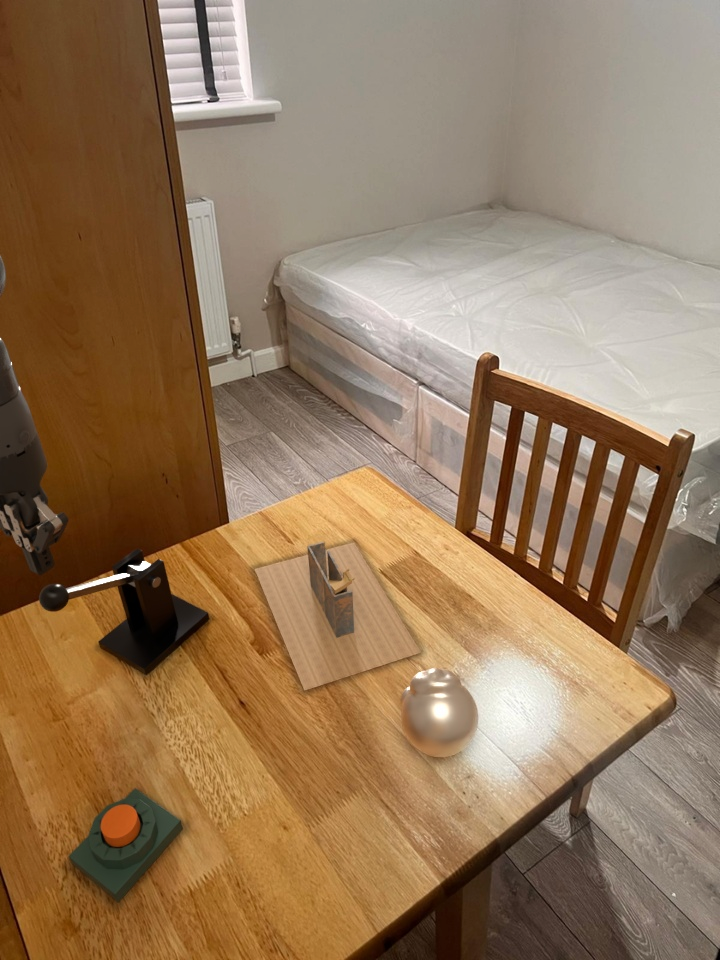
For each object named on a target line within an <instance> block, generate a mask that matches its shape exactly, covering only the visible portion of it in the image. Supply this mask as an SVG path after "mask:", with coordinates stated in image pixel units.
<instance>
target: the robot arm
mask: <svg viewBox="0 0 720 960" xmlns="http://www.w3.org/2000/svg"><path fill="white" fill-rule="evenodd" d="M5 267H6V266H5V263H4V259H3V258H2V255H1V254H0V298H1V297H2V295H3V293H4V291H5V287H6V282H7V273H6V272H7V271H6V268H5ZM38 433H39V432H38V430H37V428H36V424H35V420H34V417H33V415H32V412H31V408H30V407H29V404H28V402H27V400H26V398H25V396H24V394H23V392H22V390H21V387H20V384H19V381H18V378H17V375H16V372H15V369H14V366H13V363H12V359H11V357H10V353H9V350H8V348H7V345H6V344H5V342H4V340H3V339H2V337H0V530H2V532H3V534H4V535H5V536H7V537H11V536H12V537H13V540H14V542H15V544H16V545H17V546H19V547H20V548H21V550H22V553H23V554H24V558H25V560H26V563H27V565H28V568H29V570H30V571H32V572H33V573H34V574H37V575H38V576H43V575H44V574H46V573H47V572H49V571H50V570H52V569H53V568H54V567H55V566H56V565H55V564H56V563H55V562H56V561H55V560H54V557H53V554H52V552H51V548H50V547H51V546H52V545H54V544H57V543H58V542H60V540H61V538H62V536H63V534H64V532H65V530H66V528H67V525H68V523H69V518H68V516H67V515H66V514H65V513H64V512H60V513H58V514H57V513H54V512H53V510H52V509H51V508H50V507H49V497H48V494H46V492H45V491H44V489H43V487H42V485H41V482H42V479H43V477H44V476H45V474H46V472H47V469H48V461H47V458H46V455H45V452H44V448H43V446H42V443H41V439H40V437H39V434H38Z"/></svg>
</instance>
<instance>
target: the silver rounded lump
mask: <svg viewBox="0 0 720 960" xmlns="http://www.w3.org/2000/svg"><path fill="white" fill-rule="evenodd" d="M399 702H400V705H401V709H400V710H401V713H400V719H401V720H400V721H401V725H402V729H403V733H404V735H405V737H406V739H407V740H408V741H409V742H410V743H411V745H412V746H413V747H414V748H415V749H417V750H418V751H419V752H421V753H423V754H424V755H427V756H430V757H435V758H446V757H448V758H449V757H451V756H454V755H457V754H459V753H460V752H462V751H464V750H465V749H466V748H467V747H468V746H469V745H470V744H471V742H472V741H473V739H474V738H475V735H476V733H477V731H478V727H479V726H478V725H479V710H478V707H477V703H476V700H475V699H474V696H473V695H472V694H471V692H470V691H469V690H468V688H466V687H465V686H464V685H463V684H462V682H461V679H460V677H459V676H458V675H457V674H455V673H454V672H453V671H451V670H450V669H446V668H438V667H432V668H429V669H427V670H422V671H419V672H417V673H416V674H415V675H413V676H412V677H411V679H410V681H409V686H408V687H406V688H405V689H404V690H403V691H402V693H401V695H400V698H399Z"/></svg>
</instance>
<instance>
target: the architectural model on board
mask: <svg viewBox="0 0 720 960" xmlns="http://www.w3.org/2000/svg"><path fill="white" fill-rule="evenodd" d="M306 549H307V554H305V555H302V556H298V557H294V558H290V559H287V560H286V559H285V560H283V561H279V562H275V563H272V564H268V565H265V566H260V567H258V568H254V571H255V572H254V573H255V574H256V576H257V579H258V582H259V584H260V586H261V588H262V591H263V593H264V597H265V599H266V601H267V603H268V606H269V608H270V611H271V613H272V615H273V618H274V620H275V623H276V625H277V628H278V630H279V633H280V635H281V637H282V640H283V642H284V645H285V647H286V650H287V652H288V654H289V657H290V659H291V661H292V664H293V667H294V669H295V672H296V674H297V676H298V679H299V681H300V683H301V686H302V688H303V691H308V690H311V689H314V688H317V687H320V686H323V685H326V684H329V683H332V682H336V681H338V680H341V679H345V678H347V677H350V676H355V675H357V674H360V673H363V672H366V671H369V670H372V669H375V668H378V667H381V666H385V665H387V664H391V663H394V662H397V661H399V660H403V659H406V658H409V657H412V656H415V655H418V654H421V653H422V652H421V650H420V648H419V646H418V645H417V643H416V642H415V640H414V638H413V637H412V636H411V634H410V632H409V629H407V627H406V625H405V624H404V622H403V620H402V619H401V617H400V616H399V614H398V612H397V610H396V609H395V607H394V606H393V604H392V602H391V601H390V599H389V598H388V596H387V594H386V592H385V591H384V588H383V587H382V585H381V584H380V582H379V581H378V579H377V578H376V576H375V574H374V572H373V571H372V569H371V568H370V566H369V565H368V562H367V561H366V559H365V557H364V556H363V555H362V553H361V552H360V551H361V550H359V548H358V546H357V545H356V543H355V542H354V541H353V542H350V543H346V544H343V545H338V546H335V547H330V548H328V549H326V541H325V540H324V541H321V542H316V543H313V544H312V543H311V544H308V545H307V546H306Z"/></svg>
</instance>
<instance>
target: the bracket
mask: <svg viewBox="0 0 720 960" xmlns="http://www.w3.org/2000/svg"><path fill="white" fill-rule="evenodd" d="M142 561H145V562H146V560H145V556H144V552H143V550H142V549H139V547H137V548H135V549H134V550H132V551H131V552H130V553H129V554H127V555H126V556H124V557H123V558H122V559H120V560H119V561H118V562H116V563H115V564H113V565H111V569H112V574H113V576H115V575H119V574H123V573H127V567H128V565H130V564H134V563H138V562H142ZM150 564H151V565H150V566H148V567H147V568H146V569H144V570H143V571H142V572H141V573H139V574H138V575H137V576H135V577H134V578H133V579H134V583H135V586H136V587H134V586H132V585H130V584H128V583H127V584H124V585H120V586H117V587H116V588H117V591H118V594H119V597H120V600H121V604H122V608H123V611H124V614H125V618H126V619H124V620H123V621H122V622H121V623H119V624H118V625H117V626H115V627H114V628H113V629H111V630H110V631H109V632H108V633H107V634H106V635H104V636H103V637H102V638H100V639H99V640H98V641H97V643H98V645H99V648H100V649H101V650H103V651H104V652H106V653H108V654H110V655H111V656H113V657H115V658H116V659H118V660H120V661H122V662H123V663H125V664H126V665H128V666H130V667H131V668H133V669H134V670H136V671H138V672H139V673H141V674H143V675H145V677H146V676H148V675H149V674H150V673H151V672H152V671H154V670H155V669H156V668H157V667H158V666H159V665H161V663H162V662H164V661H165V660H166V659H167V658H168V657H169V656H170V655H171V654H172V653H173V652H175V651H176V650H177V649H178V648H179V647H180V646H181V645H182V644H184V643H185V642H186V641H187V640H188V639H189V638H190V637H191V636H192V635H193V634H194V633H196V632H197V631H199V629H201V628H202V627H203V626H204V625H205V624H206V623H207V622H209V620H210V615H209V612H207V611H206V610H205V609H202V608H200V607H198V606H196V605H195V604H193V603H190V602H188V601H186V600H185V599H182V598H180V597H178V596H177V595H175V594H173V593H172V591H171V586H170V583H169V578H168V573H167V569H166V565H165V561H164V560H162V559H160V558H157V559H156V560H155V561H153V562H152V563H150Z"/></svg>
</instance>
